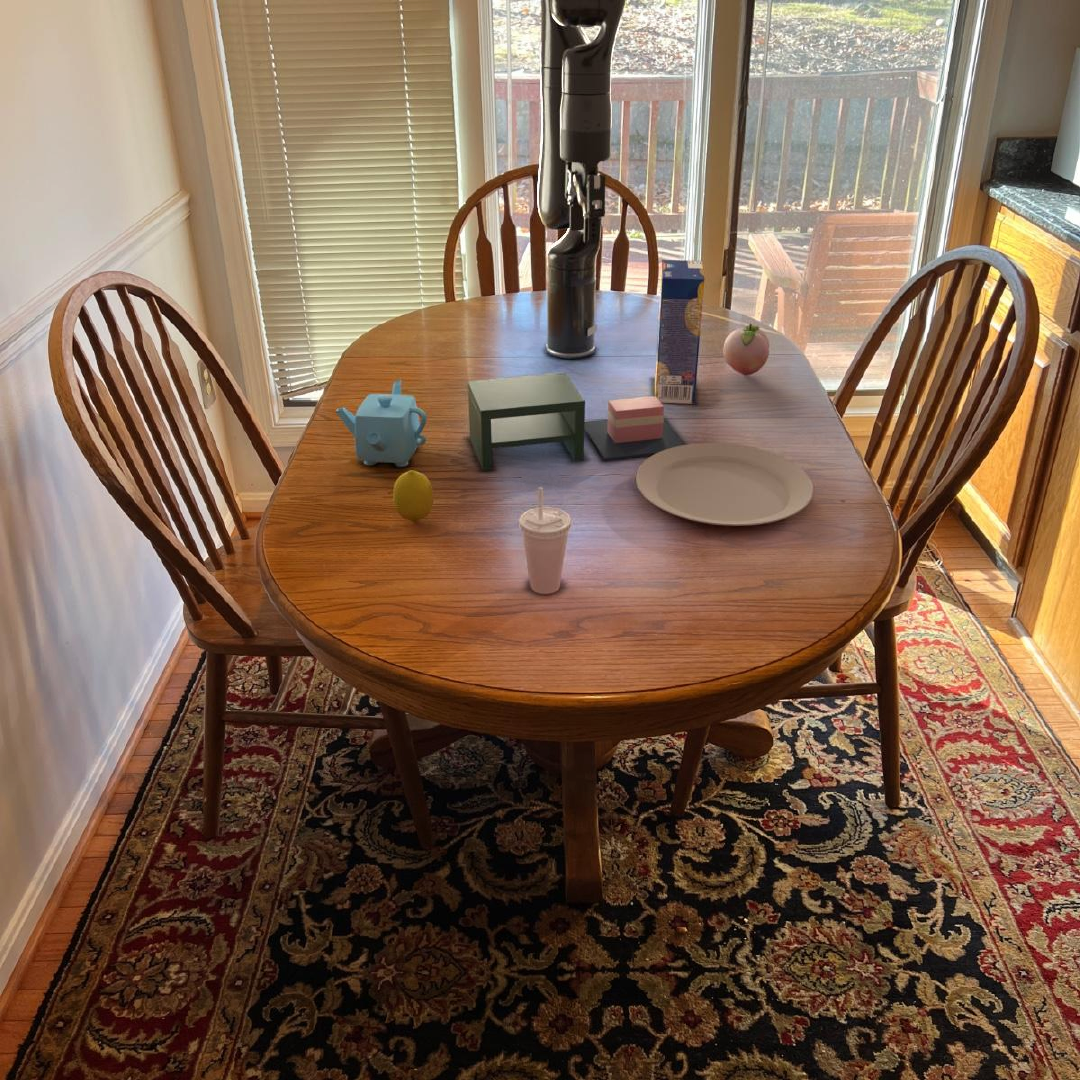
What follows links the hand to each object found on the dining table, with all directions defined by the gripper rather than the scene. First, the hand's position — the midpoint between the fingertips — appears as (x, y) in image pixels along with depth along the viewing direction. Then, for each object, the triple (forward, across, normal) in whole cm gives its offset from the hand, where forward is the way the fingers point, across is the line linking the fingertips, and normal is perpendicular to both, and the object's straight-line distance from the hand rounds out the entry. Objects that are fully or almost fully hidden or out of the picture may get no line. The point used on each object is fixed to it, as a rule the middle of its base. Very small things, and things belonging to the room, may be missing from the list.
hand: (583, 236), depth 157 cm
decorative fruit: (+30, +10, -34) cm, 47 cm away
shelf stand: (+30, -11, +12) cm, 34 cm away
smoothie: (+30, -50, +18) cm, 61 cm away
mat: (+30, -11, -6) cm, 33 cm away
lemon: (+30, -30, +32) cm, 53 cm away
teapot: (+30, -8, +34) cm, 46 cm away
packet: (+30, -11, -6) cm, 32 cm away
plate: (+30, -32, -13) cm, 46 cm away
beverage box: (+30, +6, -19) cm, 36 cm away
